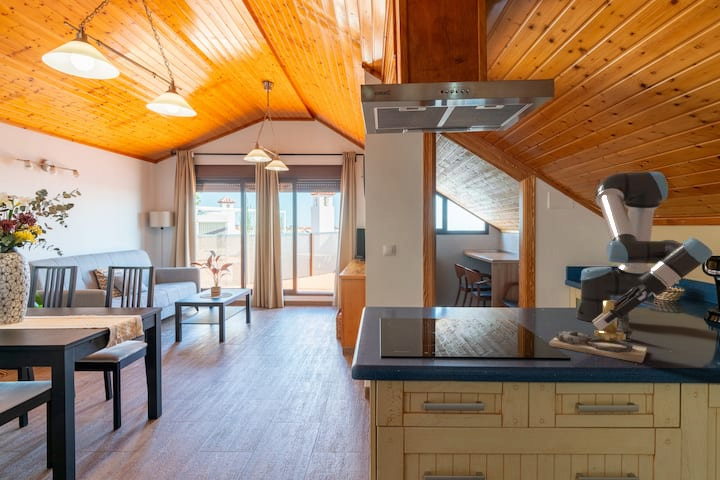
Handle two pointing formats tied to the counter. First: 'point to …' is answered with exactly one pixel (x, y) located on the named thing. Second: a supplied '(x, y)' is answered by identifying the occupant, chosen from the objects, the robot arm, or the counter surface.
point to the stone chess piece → (625, 327)
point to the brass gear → (611, 329)
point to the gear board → (598, 346)
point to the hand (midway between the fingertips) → (596, 325)
